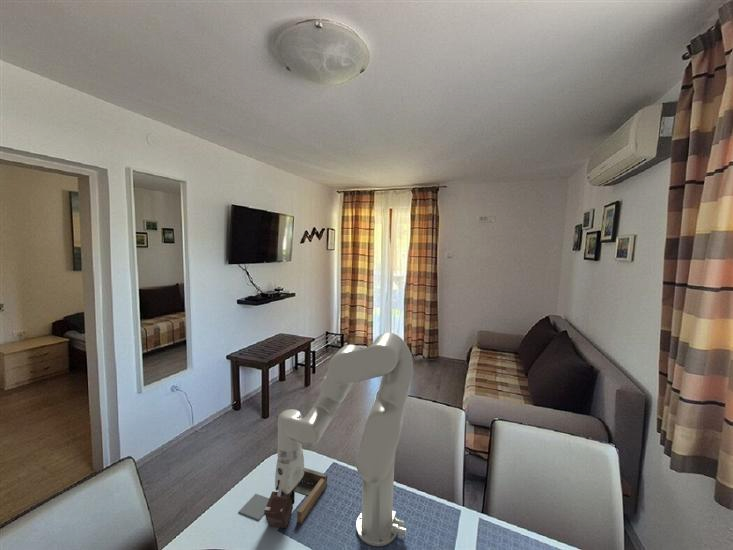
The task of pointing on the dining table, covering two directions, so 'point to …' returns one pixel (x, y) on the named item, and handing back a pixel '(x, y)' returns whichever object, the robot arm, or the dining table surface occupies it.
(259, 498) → the pad
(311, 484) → the channel
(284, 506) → the box
